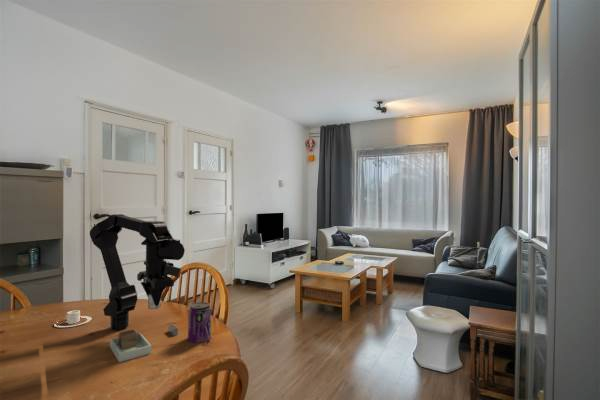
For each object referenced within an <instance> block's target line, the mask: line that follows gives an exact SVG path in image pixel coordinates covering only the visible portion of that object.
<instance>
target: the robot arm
mask: <svg viewBox="0 0 600 400" xmlns="http://www.w3.org/2000/svg"><path fill="white" fill-rule="evenodd" d="M123 229H126V230H129V231H133V232H136V233H138V234H139V236H141V237H143V238H144V240H143V241H141V243H140V244H141V246H145V261H143V265H145V270H142V271H139V272H138V273H137V277H136V279H137V281H139V282H140V285H141V286H142V288H143V290H144V292H145V293H146V296H147V297H148V294H150V293H151V296H152V299H153V302H154V304H155V306H158V305H159V302H160V299H161V300H162V296H163V293H164V291H165V290H166V289H167V288H170V287H171V288H172V287H174V286H175V281H174V280H175V279H173V278H172V277H174V278H179V277H180V275H181V272H182V268H180V267H177V266H174V265H175V264H174V263H173V262H169V261H166V260H173V261H180V260H181V259H183V257H184V255H185V248H184V244H183V243H181V239H180V238H177V239H176V238H174V237H173V234H172V233H171V232H170V231H171V230H170V229H169V227H168V225H167V223H166V222H165V221H160V220H159V221H154V220H152V221H151V220H150V221H148V220H147V221H146V220H144V219H143V220H142V219H139V218H136V217H131V216H128V215H125V214H121V213H119V214H116V213H115V214H110V215H109V216H107V218H105V219H103V220H101V221H100V222H97V223H96V224H95V225H93V226H92V227H91V229H90V231H89V236H90V239H91V242H92V243H93V245H94V246H95V247H96V248H98V249H99V251H100V253H101V257H102V260H103V262H104V263H103V264H104V266H105V269H106V272H107V277H108V281H109V283H110V291H109V295H108V300H109V302H108V303H107V305H106V306H105V307H104V308H103V310H102V311H103V314H104V316H107V317H110V324H109V325H110V327H107V329H108V330H112V331H120V332H121V331H124V330H126V329H128V327H129V325H130V324H129V323H130V322H129V321H130V320H129V318H130V317H129V314H130V313H129V312H131V311H135V308H136V305H137V302H138V293H137V290H136V286H135V284H129V282H128V281H127V279H126V276H125V271H124V268H123V266H122V263H121V262H122V261H121V259H120V256H119V252H118V249H117V243H118V240H119V235H118V234H119V233H120V232H121V231H122V230H123ZM171 276H172V277H171ZM142 280H143V281H142Z"/></svg>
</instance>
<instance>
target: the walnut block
mask: <svg viewBox="0 0 600 400" xmlns="http://www.w3.org/2000/svg"><path fill="white" fill-rule="evenodd" d="M137 333H138V332H136V331H135V330H134V329H129V330H125V331H124V330H123V331H120V332H118V337H119V346H120V348H121V349H122V350H123V349H127V348H131V347H135V346H136V334H137Z"/></svg>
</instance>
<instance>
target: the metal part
mask: <svg viewBox="0 0 600 400" xmlns="http://www.w3.org/2000/svg"><path fill="white" fill-rule="evenodd" d="M147 300H148V301H147V303H148V304H147V309H148V310H157V309H161V308H162V298H161V299H160V302H159V305H158V306H155V304H154V302H153V299H152V296H151V293H150V294H148V296H147Z"/></svg>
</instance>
